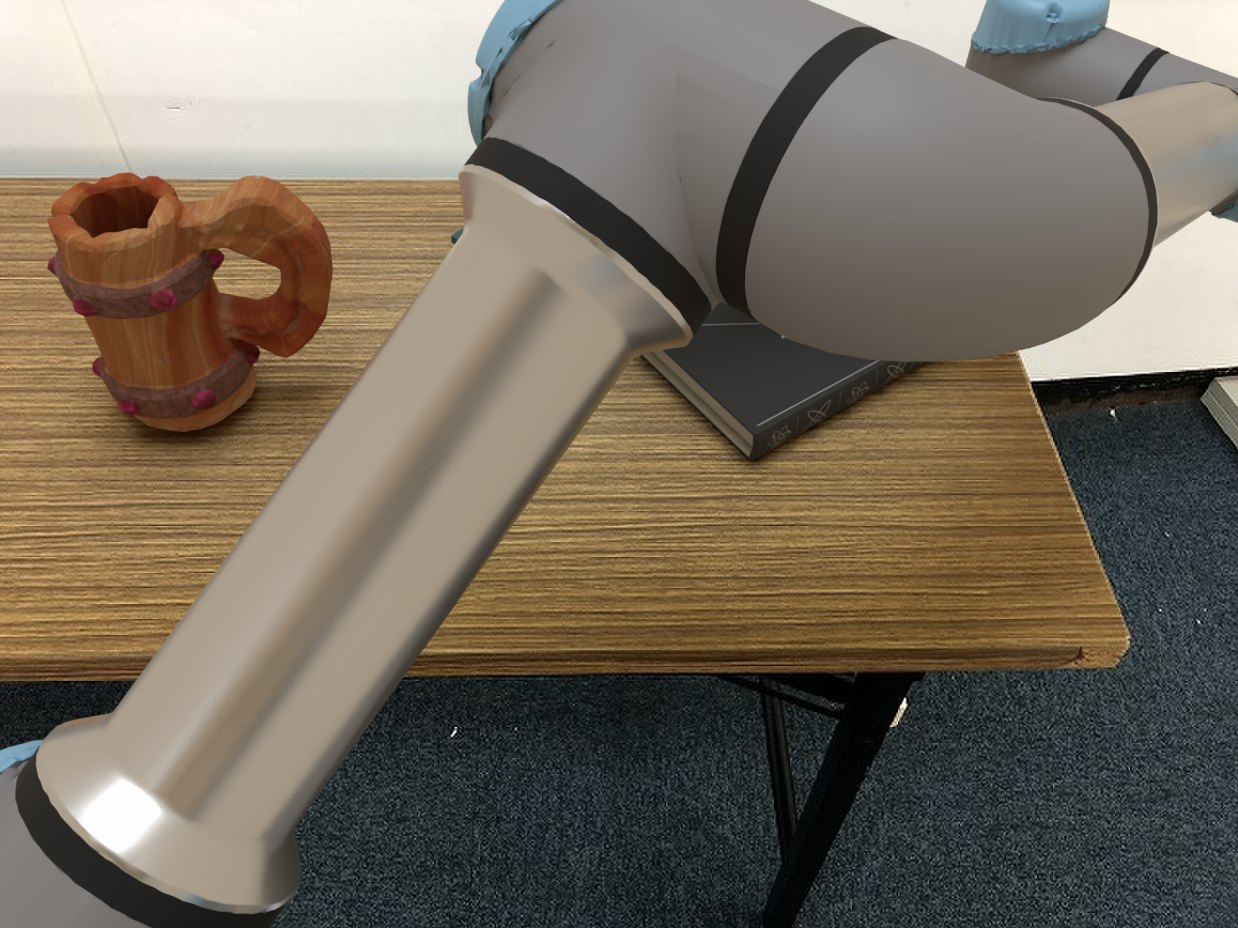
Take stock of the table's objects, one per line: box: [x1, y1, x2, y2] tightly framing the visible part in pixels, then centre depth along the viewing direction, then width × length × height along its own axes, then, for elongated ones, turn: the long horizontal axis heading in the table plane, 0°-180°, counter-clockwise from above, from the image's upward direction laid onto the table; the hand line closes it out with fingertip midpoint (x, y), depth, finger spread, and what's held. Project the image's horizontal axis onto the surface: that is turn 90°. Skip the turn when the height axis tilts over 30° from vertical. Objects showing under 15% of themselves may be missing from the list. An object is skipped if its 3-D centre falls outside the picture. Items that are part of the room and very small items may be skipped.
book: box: [640, 302, 928, 462], centre depth 91 cm, size 22×15×3 cm
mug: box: [46, 172, 334, 433], centre depth 79 cm, size 19×11×20 cm, turn 95°
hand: (570, 140), depth 84 cm, fingers open, 13 cm apart
